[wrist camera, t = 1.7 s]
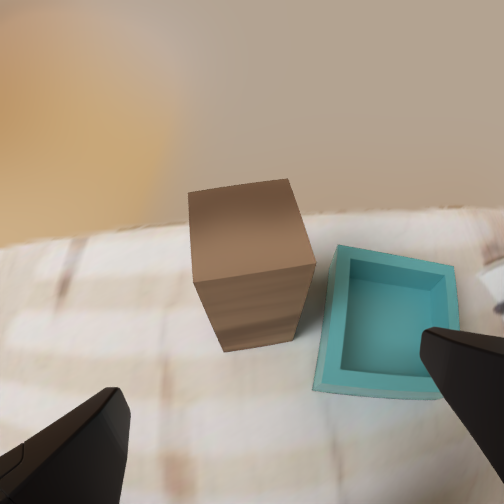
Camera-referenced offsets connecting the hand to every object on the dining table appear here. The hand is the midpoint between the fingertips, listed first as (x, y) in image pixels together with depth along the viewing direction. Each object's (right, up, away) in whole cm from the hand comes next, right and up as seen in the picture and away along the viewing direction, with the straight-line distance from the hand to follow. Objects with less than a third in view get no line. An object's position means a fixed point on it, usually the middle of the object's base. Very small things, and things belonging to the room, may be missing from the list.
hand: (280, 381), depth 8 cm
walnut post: (-1, -1, +15) cm, 15 cm away
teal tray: (+9, -3, +14) cm, 17 cm away
